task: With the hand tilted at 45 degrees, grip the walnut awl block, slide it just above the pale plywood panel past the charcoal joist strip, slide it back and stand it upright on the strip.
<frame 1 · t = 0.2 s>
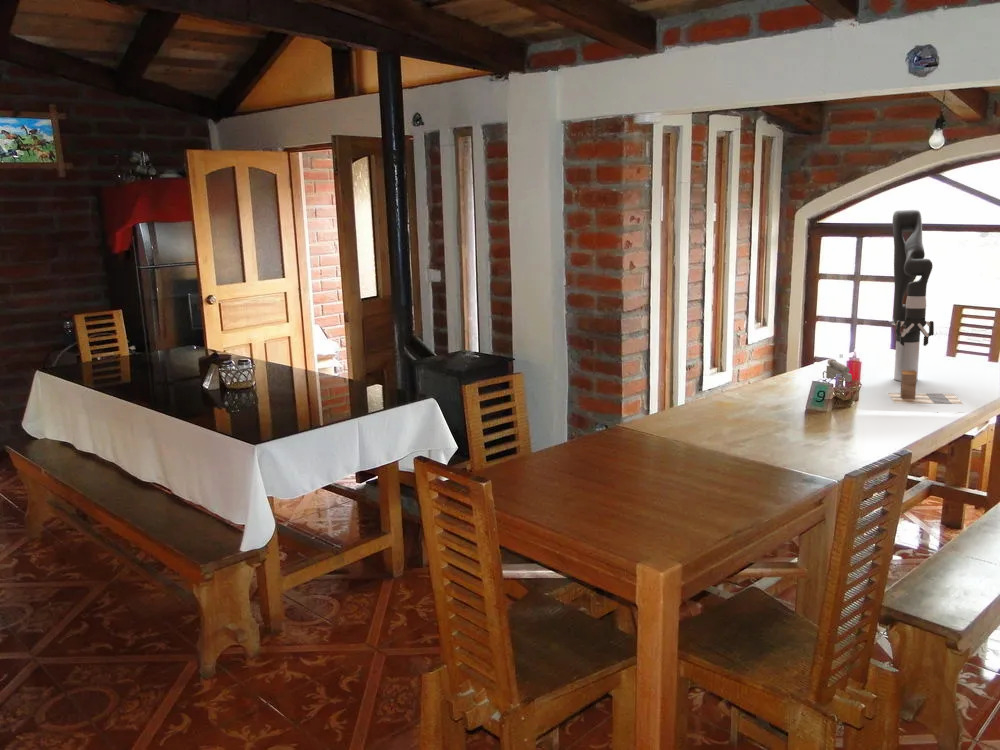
hand: (913, 345, 346), 18 cm above the table, tool pointing down, fingers open, 8 cm apart
walnut awl block: (907, 397, 326), point 1 cm above the table, touching subfloor panel
geiger counter: (834, 394, 344), on the table
subfloor panel: (924, 402, 324), on the table
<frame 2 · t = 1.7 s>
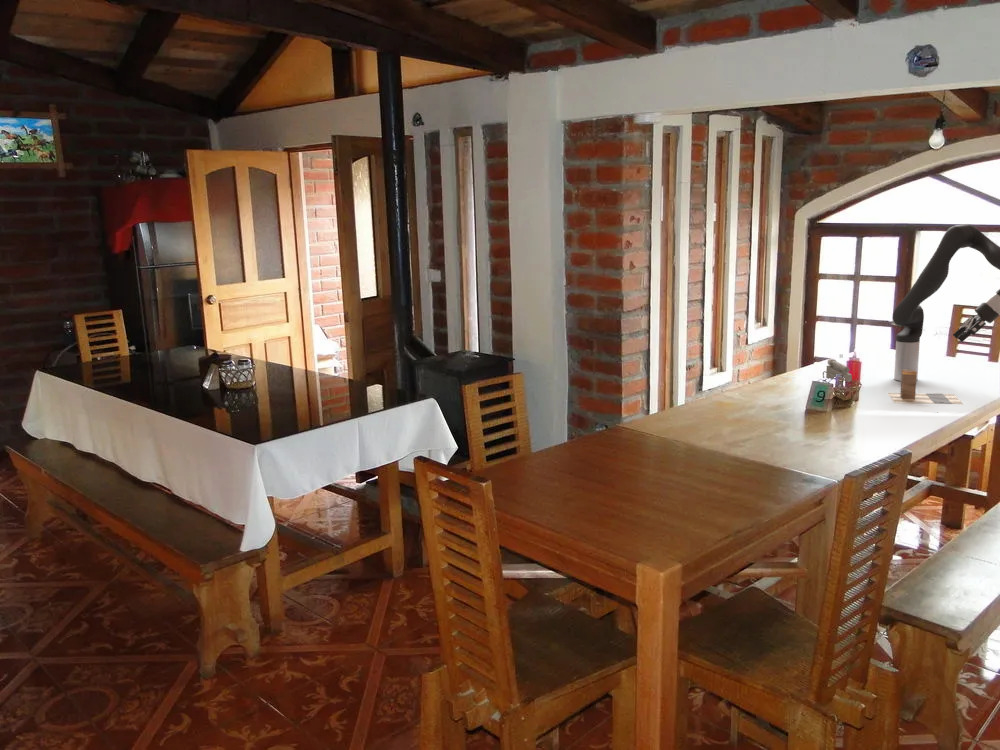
hand: (956, 338, 316), 25 cm above the table, tool tilted 45°, fingers open, 8 cm apart
nothing on the table moved.
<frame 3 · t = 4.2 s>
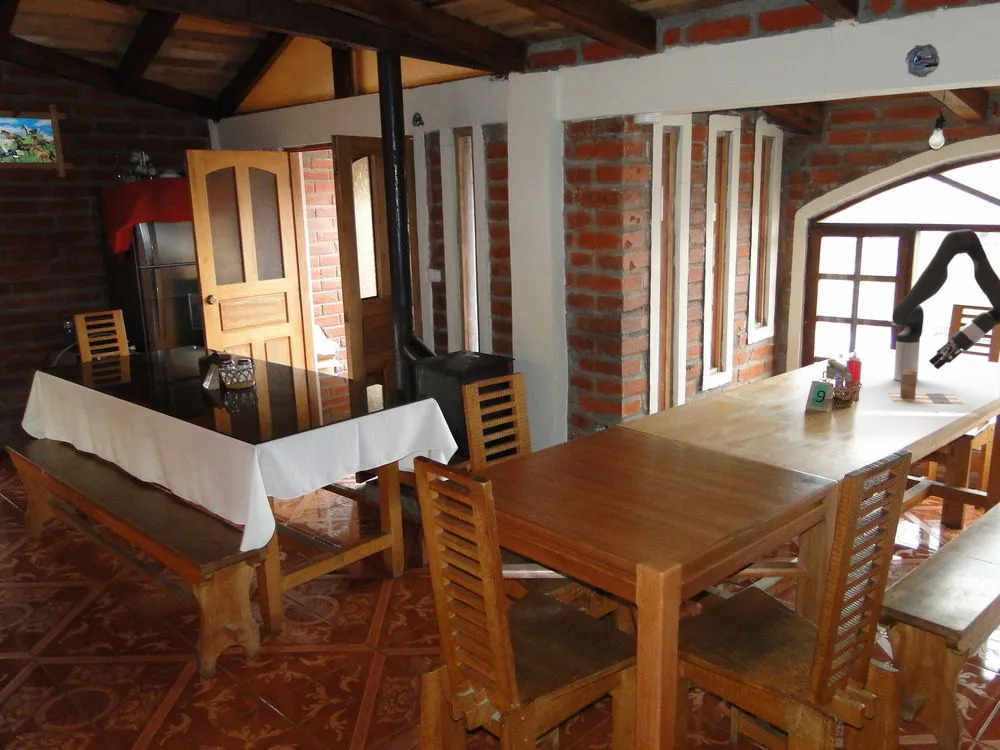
hand: (933, 365, 321), 15 cm above the table, tool tilted 45°, fingers open, 8 cm apart
nothing on the table moved.
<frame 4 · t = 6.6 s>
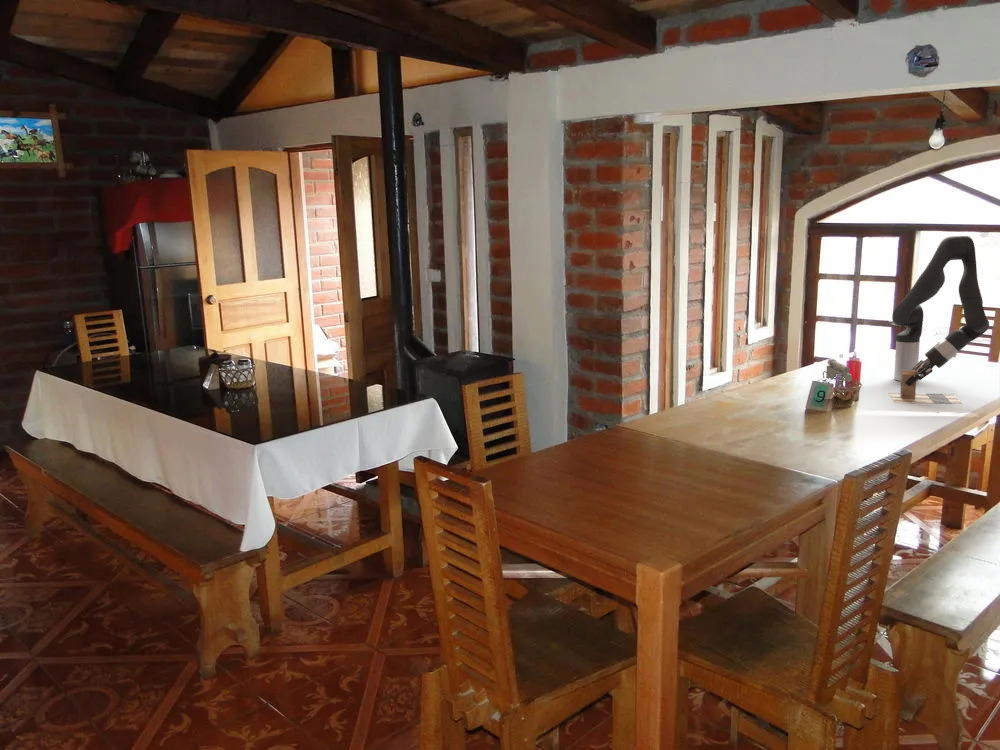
hand: (906, 382, 325), 8 cm above the table, tool tilted 45°, fingers closed on walnut awl block, 4 cm apart
walnut awl block: (907, 397, 326), point 2 cm above the table, touching gripper, subfloor panel
everything else where it was.
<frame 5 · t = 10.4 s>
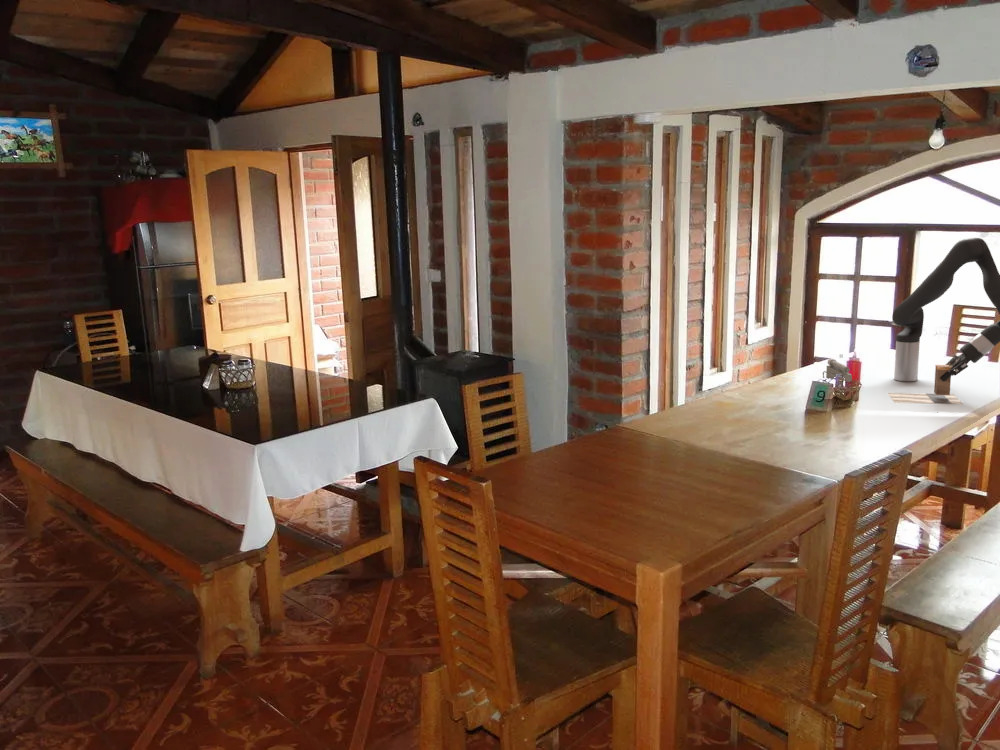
hand: (940, 378, 321), 10 cm above the table, tool tilted 45°, fingers closed on walnut awl block, 4 cm apart
walnut awl block: (941, 393, 322), point 4 cm above the table, touching gripper
everything else where it was.
when the fingers open (9 cm above the table, at t = 13.9 s): walnut awl block stays where it is, resting on subfloor panel.
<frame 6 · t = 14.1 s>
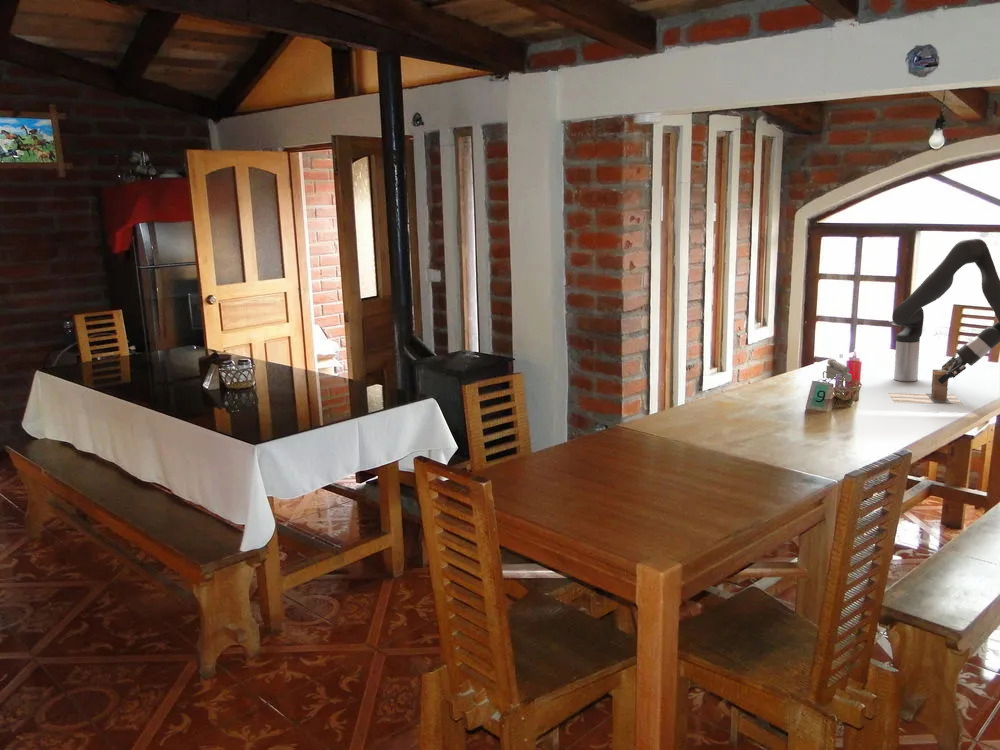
hand: (937, 380, 321), 9 cm above the table, tool tilted 45°, fingers open, 6 cm apart
walnut awl block: (938, 398, 323), point 2 cm above the table, touching subfloor panel
everything else where it was.
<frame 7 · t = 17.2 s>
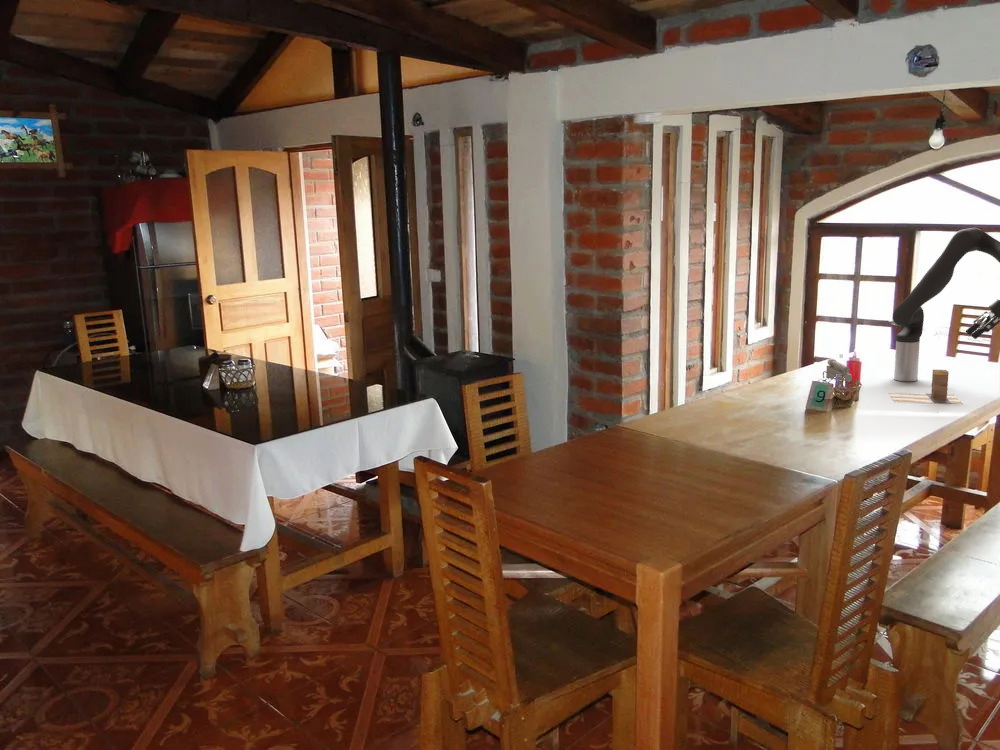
hand: (970, 335, 315), 27 cm above the table, tool tilted 45°, fingers open, 8 cm apart
nothing on the table moved.
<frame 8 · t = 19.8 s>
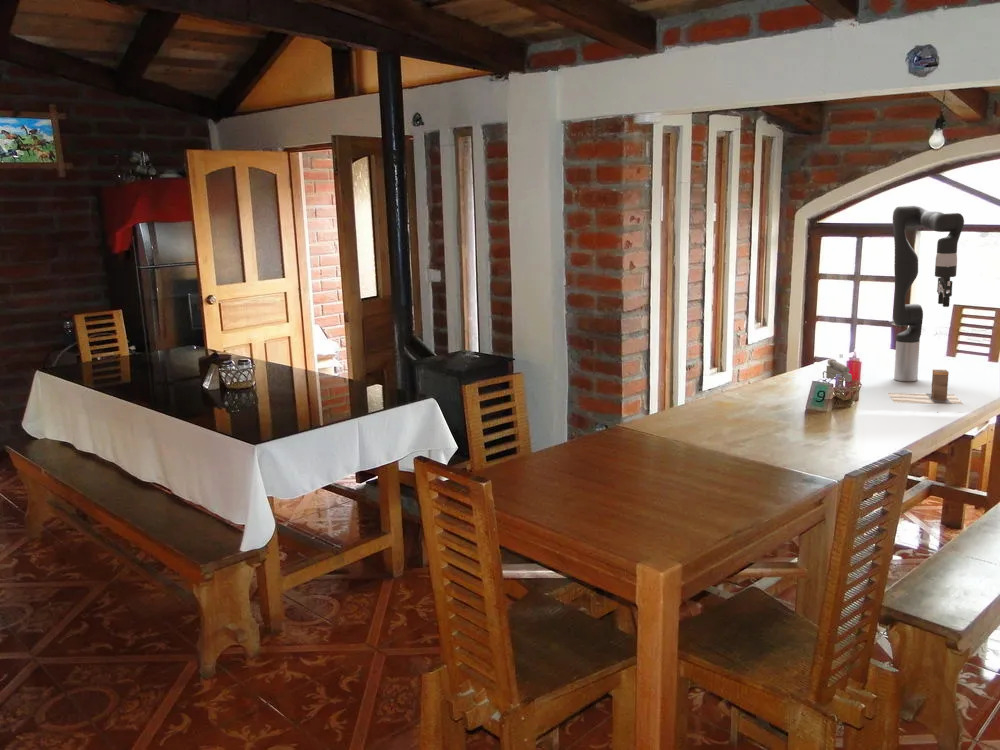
hand: (943, 305, 330), 36 cm above the table, tool pointing down, fingers open, 8 cm apart
nothing on the table moved.
at the end: walnut awl block 0.1 cm from the target spot, point 1.6 cm above the table; walnut awl block tilted 0°; the gripper is holding nothing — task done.
